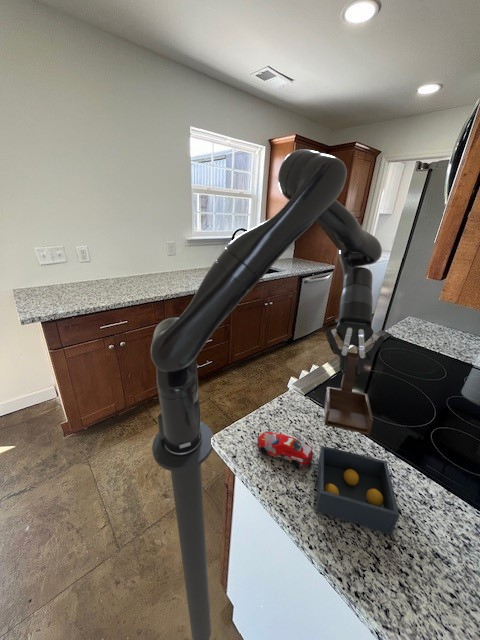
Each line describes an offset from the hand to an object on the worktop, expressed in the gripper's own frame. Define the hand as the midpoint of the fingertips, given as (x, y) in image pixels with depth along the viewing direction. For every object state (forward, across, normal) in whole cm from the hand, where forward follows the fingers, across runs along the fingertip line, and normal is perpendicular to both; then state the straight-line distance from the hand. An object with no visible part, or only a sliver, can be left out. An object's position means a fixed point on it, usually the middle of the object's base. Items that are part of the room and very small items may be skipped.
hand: (351, 373), depth 61 cm
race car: (+20, -13, +7) cm, 25 cm away
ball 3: (+24, +6, +1) cm, 24 cm away
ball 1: (+25, -2, 0) cm, 25 cm away
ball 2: (+21, +2, +3) cm, 22 cm away
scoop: (+8, 0, +5) cm, 9 cm away
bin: (+24, +2, +3) cm, 25 cm away
